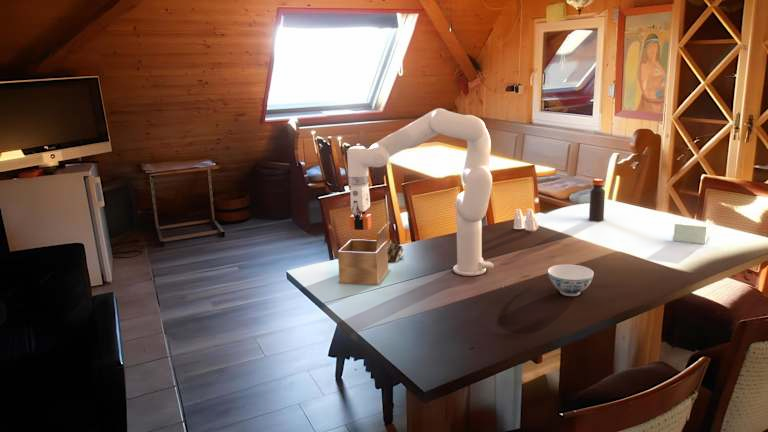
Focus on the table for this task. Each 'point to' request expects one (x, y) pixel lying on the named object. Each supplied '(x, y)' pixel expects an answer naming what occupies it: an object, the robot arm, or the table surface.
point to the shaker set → (530, 221)
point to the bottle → (597, 201)
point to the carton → (362, 262)
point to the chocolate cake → (394, 252)
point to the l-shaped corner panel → (691, 233)
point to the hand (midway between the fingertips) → (361, 227)
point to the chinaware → (570, 278)
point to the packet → (366, 221)
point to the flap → (382, 236)
